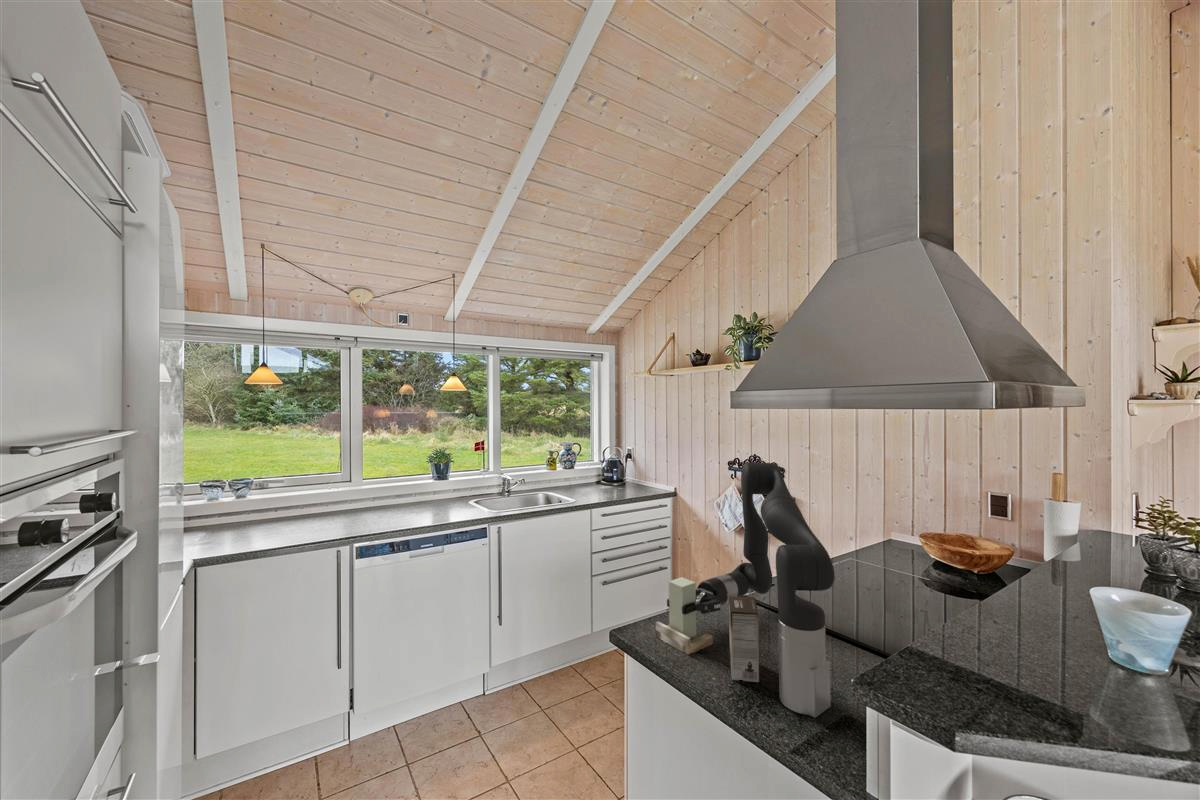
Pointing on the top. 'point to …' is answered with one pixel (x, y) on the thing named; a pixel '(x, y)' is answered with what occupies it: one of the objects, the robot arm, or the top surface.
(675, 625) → the sage block
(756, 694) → the top surface
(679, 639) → the wooden lane
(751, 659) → the coffee box
